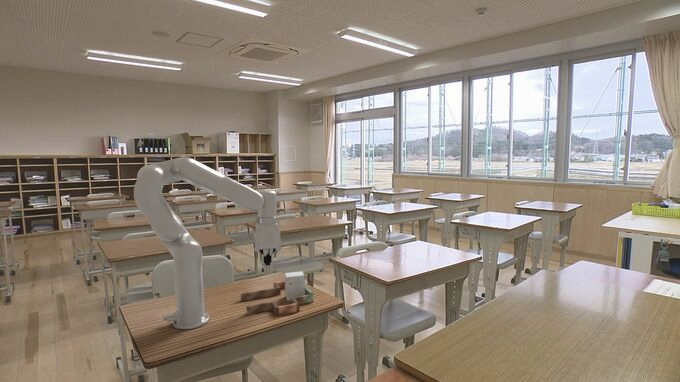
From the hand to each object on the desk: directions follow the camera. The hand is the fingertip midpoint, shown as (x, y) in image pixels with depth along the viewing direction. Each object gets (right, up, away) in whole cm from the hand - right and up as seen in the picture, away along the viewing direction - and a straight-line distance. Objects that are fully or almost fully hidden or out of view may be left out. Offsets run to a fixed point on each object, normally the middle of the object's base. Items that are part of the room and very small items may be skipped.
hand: (267, 264), depth 153 cm
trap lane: (+3, -16, +3) cm, 16 cm away
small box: (+11, -16, +6) cm, 20 cm away
